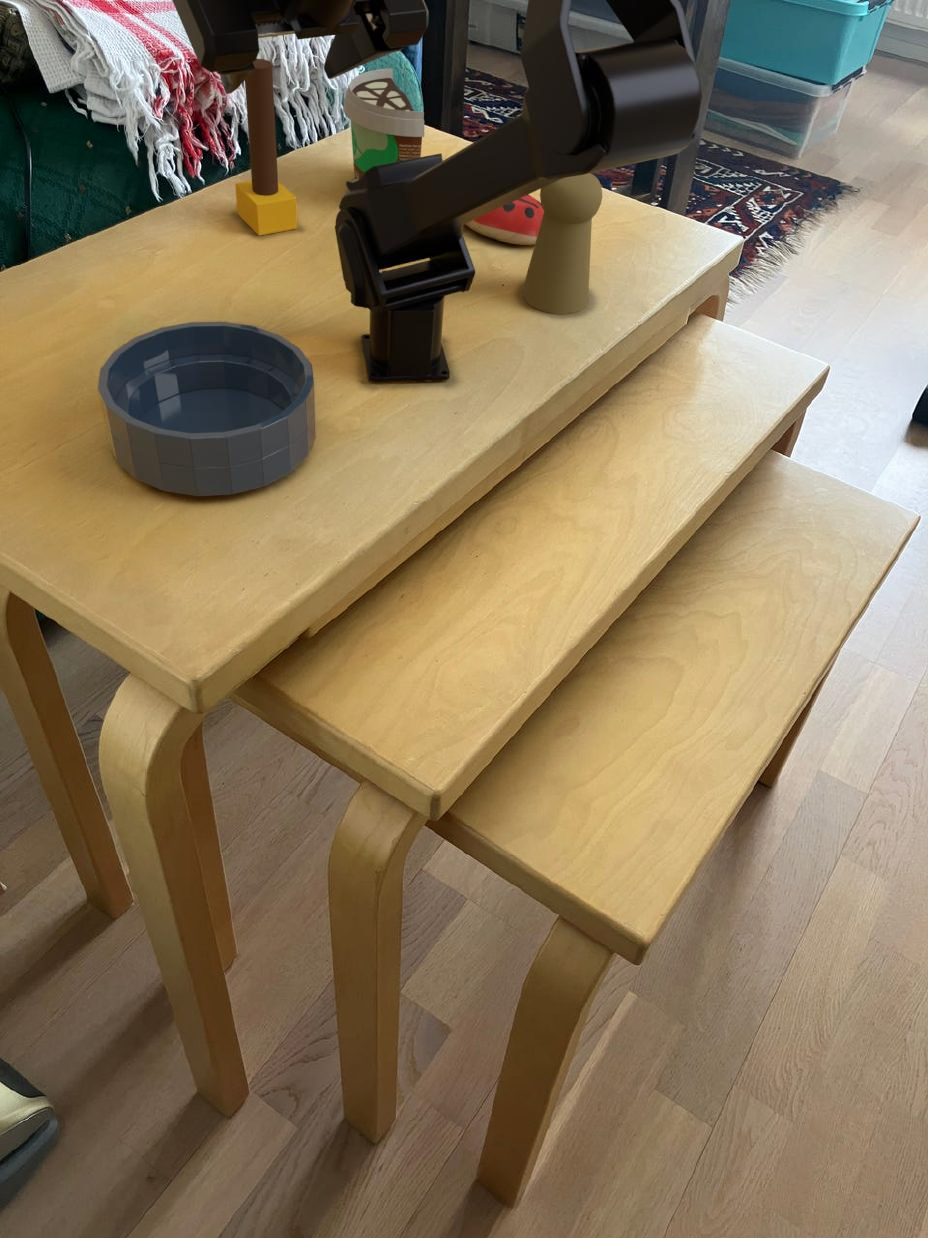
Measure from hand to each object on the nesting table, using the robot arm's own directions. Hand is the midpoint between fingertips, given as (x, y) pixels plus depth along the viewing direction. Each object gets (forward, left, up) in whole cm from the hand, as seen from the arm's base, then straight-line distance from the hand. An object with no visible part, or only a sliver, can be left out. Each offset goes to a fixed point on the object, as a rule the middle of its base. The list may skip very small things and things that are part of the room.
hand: (278, 80), depth 83 cm
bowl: (-28, +6, -15) cm, 33 cm away
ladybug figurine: (+5, -22, -15) cm, 27 cm away
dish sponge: (+7, +1, -15) cm, 16 cm away
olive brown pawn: (-8, -24, -15) cm, 29 cm away
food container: (+13, -10, -15) cm, 22 cm away
